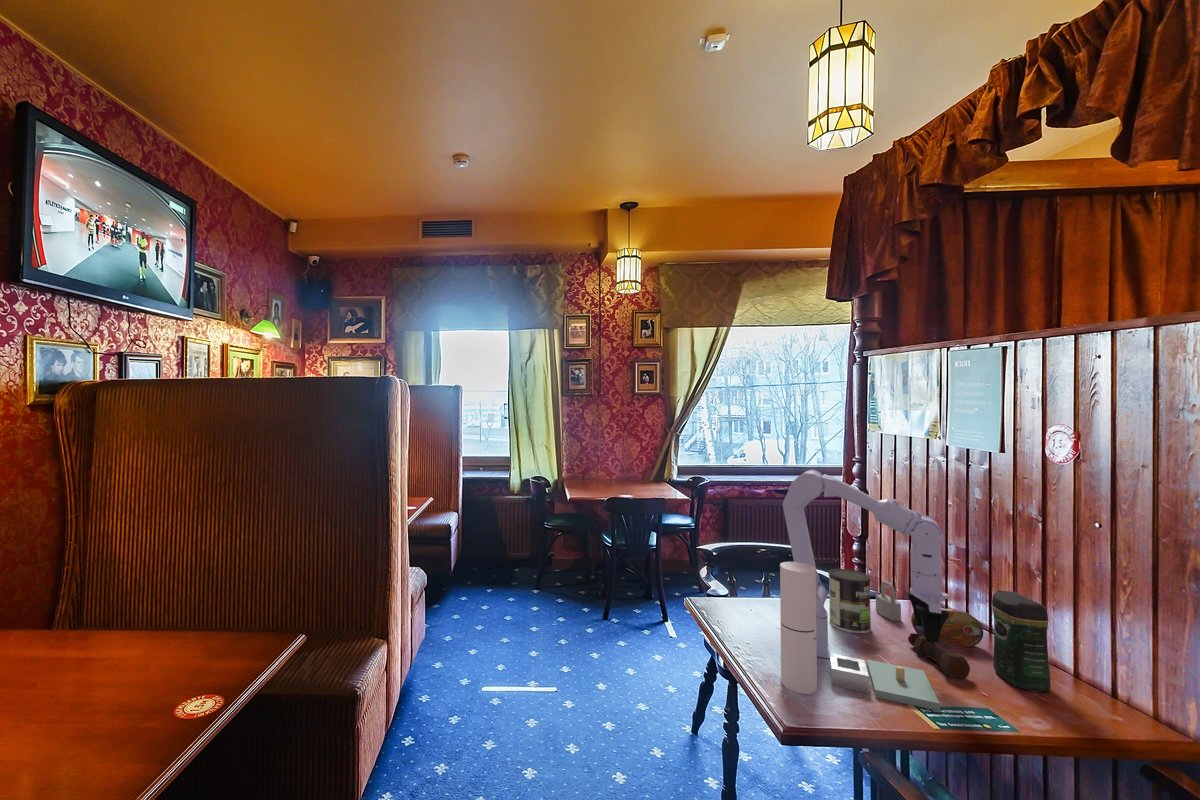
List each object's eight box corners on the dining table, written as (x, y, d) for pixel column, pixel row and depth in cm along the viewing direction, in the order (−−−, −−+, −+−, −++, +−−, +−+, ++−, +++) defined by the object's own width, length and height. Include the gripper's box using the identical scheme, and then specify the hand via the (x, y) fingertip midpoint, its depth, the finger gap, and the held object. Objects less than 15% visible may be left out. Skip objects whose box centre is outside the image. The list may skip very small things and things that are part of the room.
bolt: (917, 654, 115) (962, 686, 100) (899, 643, 116) (941, 674, 101) (928, 633, 116) (974, 663, 101) (910, 623, 116) (953, 650, 101)
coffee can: (879, 628, 125) (878, 576, 126) (857, 637, 120) (856, 583, 120) (843, 614, 134) (842, 566, 135) (821, 622, 129) (820, 571, 129)
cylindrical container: (773, 678, 100) (772, 563, 101) (797, 671, 103) (796, 560, 104) (799, 697, 94) (798, 573, 95) (824, 689, 96) (823, 569, 98)
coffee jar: (1059, 696, 95) (1056, 605, 96) (1015, 691, 96) (1013, 602, 97) (1026, 671, 104) (1023, 589, 105) (986, 667, 106) (984, 586, 107)
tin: (913, 639, 119) (912, 606, 120) (910, 633, 122) (909, 602, 123) (984, 650, 114) (983, 616, 114) (979, 644, 117) (978, 611, 117)
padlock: (873, 610, 137) (873, 577, 137) (886, 610, 137) (886, 577, 137) (889, 621, 130) (889, 585, 130) (903, 621, 130) (902, 585, 130)
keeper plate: (875, 697, 94) (875, 677, 94) (866, 666, 106) (866, 648, 106) (940, 711, 89) (939, 690, 90) (923, 677, 101) (923, 658, 101)
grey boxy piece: (831, 685, 98) (831, 668, 98) (829, 668, 104) (829, 653, 104) (869, 693, 95) (868, 676, 95) (864, 676, 102) (864, 660, 102)
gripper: (958, 585, 94) (959, 652, 93) (938, 565, 107) (939, 623, 107) (917, 580, 97) (918, 645, 96) (903, 560, 110) (903, 618, 110)
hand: (926, 633), depth 102 cm, fingers open, 7 cm apart
